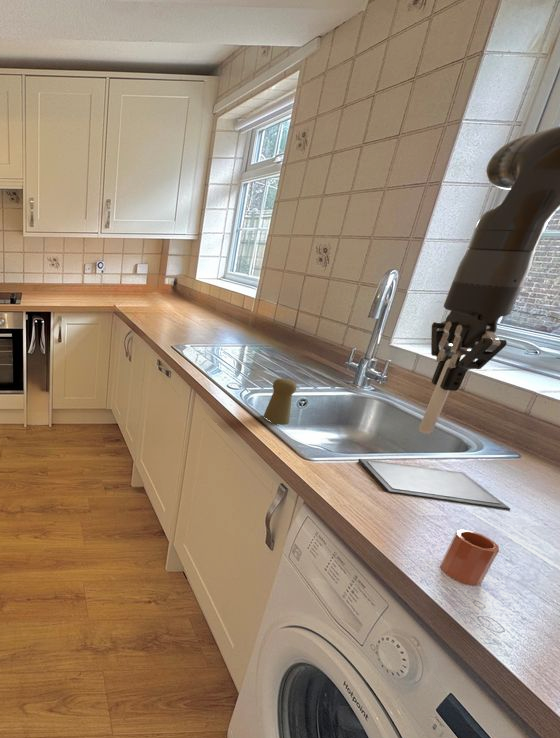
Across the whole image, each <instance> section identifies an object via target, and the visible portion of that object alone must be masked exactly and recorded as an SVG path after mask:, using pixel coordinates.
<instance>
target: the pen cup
mask: <svg viewBox="0 0 560 738" xmlns="http://www.w3.org/2000/svg"><path fill="white" fill-rule="evenodd" d="M499 552H500V547H499V545H498V544H497V543H496V542H494V540H492V539H491V538H489V537H487V536H485V535H483V534H481V533H479V532H476V531H473V530H467V529H458V530H456V531H455V533H454V535H453V538H452V539H451V541H450V543H449V545H448V547H447V550H446V551H445V554H444V555H443V558H442V560H441V562H440V569H441V571H443V573H444V574H445V575H447V576H448V577H450V578H451V579H453V580H455V581H457V582H458V583H460V584H461V583H462V584H464V585H466V586H467V585H468V586H472V587H473V586H474V587H477V586H479V585H481V584H482V583H483V581H484V579H485V577H486V575H487V574H488V572H489V570H490V568H491V566H492V564H493V563H494V561H495V559H496V557H497V555H498V553H499Z"/></svg>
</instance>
